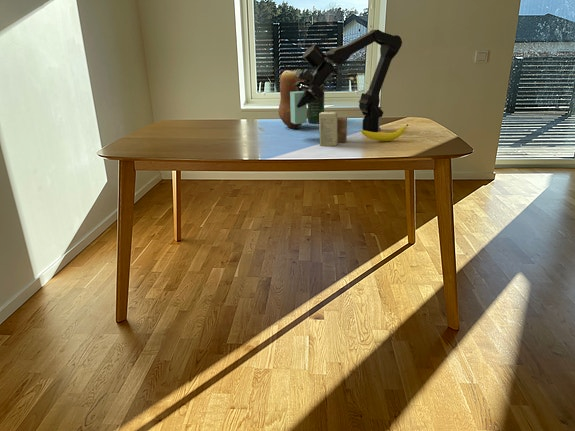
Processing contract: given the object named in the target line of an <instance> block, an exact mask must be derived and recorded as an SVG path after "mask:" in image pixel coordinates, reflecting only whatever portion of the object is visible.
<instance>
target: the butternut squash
mask: <svg viewBox="0 0 575 431" xmlns="http://www.w3.org/2000/svg"><path fill="white" fill-rule="evenodd" d="M296 71H297V70H288V69H287V70H284V71H283V72H282V73H281V75H280V77H279V80H280V81H279V82H280V83H279V94H280V100H279V106H278V116H279V118H280V120H281V121H282V123H283V124H284V125H285V126H286V127H288V129H290V130H291V129H295V128H297V127H300V126H302V125H303V124H304V123H302V124H294V123H292V122H291V107H290V92H296V91H297V88H296V86H295V85H294V84H295V83H296V82H297V81H302V82H303V81H304V80H301V79H299V78H296V77H295V74H296ZM307 118H308V109H307Z"/></svg>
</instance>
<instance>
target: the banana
mask: <svg viewBox="0 0 575 431" xmlns="http://www.w3.org/2000/svg"><path fill="white" fill-rule="evenodd" d="M408 126H409V124H406V125H404V126H402V127H400V128H399V129H398V130H396V131H394V132H371V131H365V130H363V129H360V130H359V131H360V133H361V134H362V135H363V136H365V137H366V138H368V139H371V140H373V141H374V140H375V141H378V142H391V141H394V140H396V139H398V138H399V137H401V136H402V135H403V134H404V132H405V131H406V130H407V127H408Z"/></svg>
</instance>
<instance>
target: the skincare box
mask: <svg viewBox="0 0 575 431" xmlns="http://www.w3.org/2000/svg"><path fill="white" fill-rule="evenodd" d="M337 118H338V111H328V112H327V111H324V112H321V113H320V114H319V124H318V125H319V146H322V147H323V146H327V147H328V146H331V147H334V146H337V145H338V143H337Z"/></svg>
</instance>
